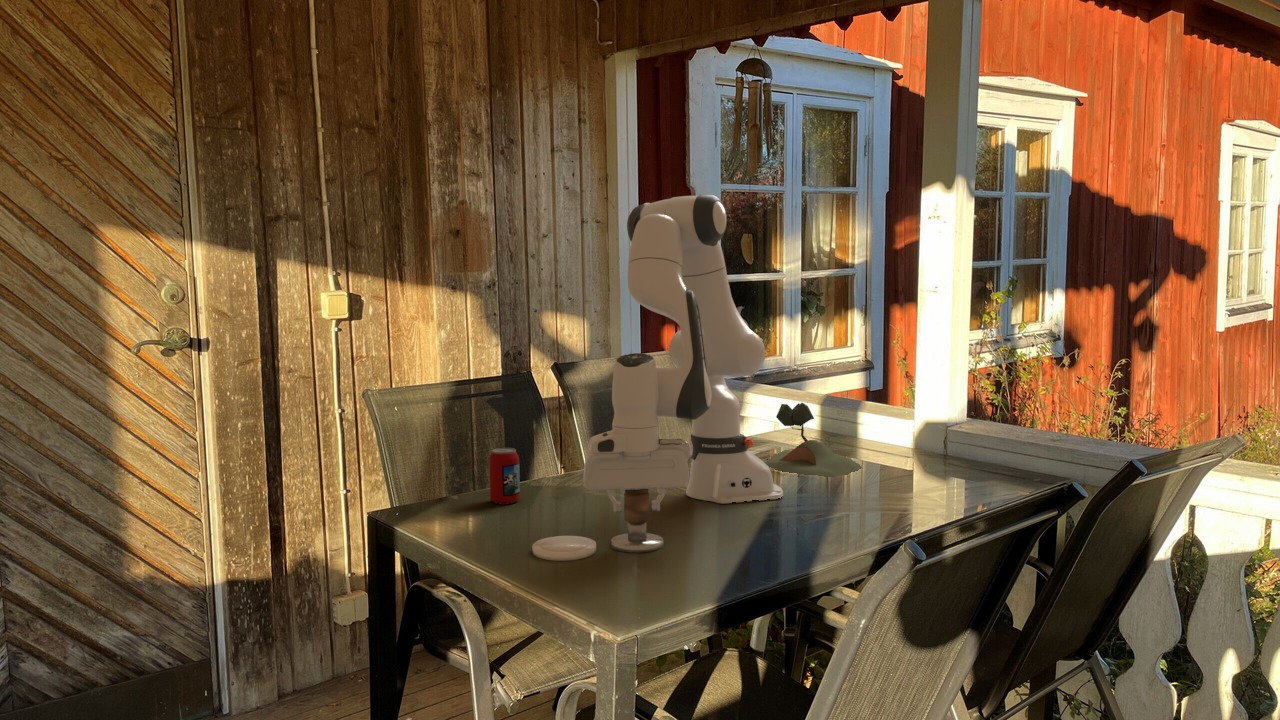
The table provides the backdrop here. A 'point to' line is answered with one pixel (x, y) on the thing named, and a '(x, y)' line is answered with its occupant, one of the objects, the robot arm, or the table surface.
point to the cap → (636, 505)
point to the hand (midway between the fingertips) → (636, 511)
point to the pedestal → (637, 540)
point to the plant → (808, 450)
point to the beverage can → (504, 476)
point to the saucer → (564, 548)
